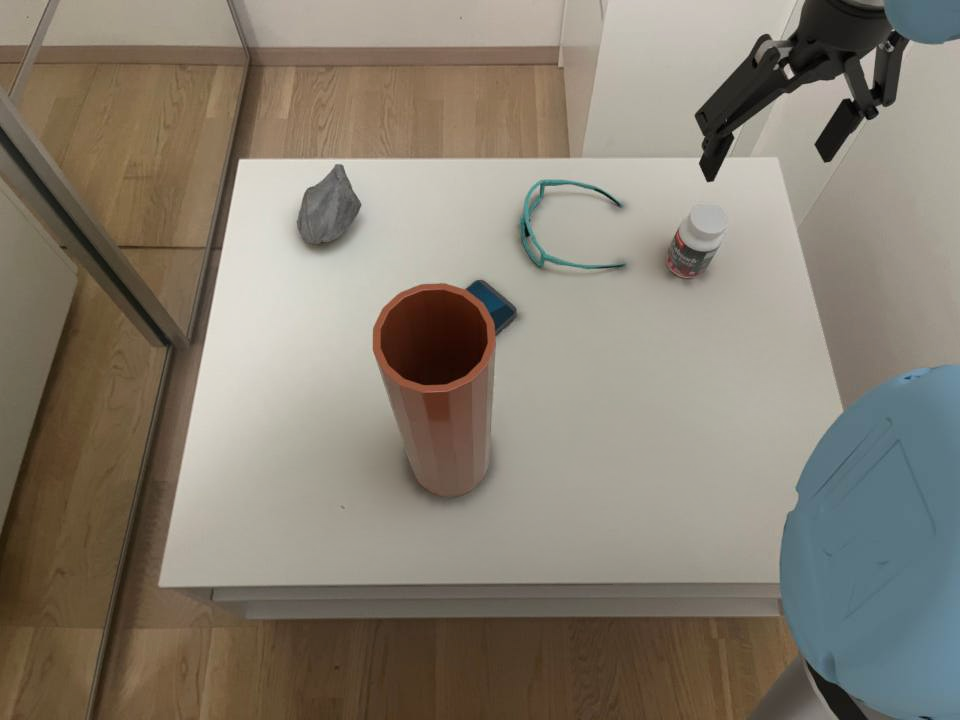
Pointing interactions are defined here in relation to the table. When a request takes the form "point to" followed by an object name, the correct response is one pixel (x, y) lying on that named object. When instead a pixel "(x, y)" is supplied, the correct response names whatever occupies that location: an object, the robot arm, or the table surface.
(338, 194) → the grey rock
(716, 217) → the pill bottle
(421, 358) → the tall brown vase
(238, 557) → the table surface
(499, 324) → the smartphone
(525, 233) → the sunglasses
